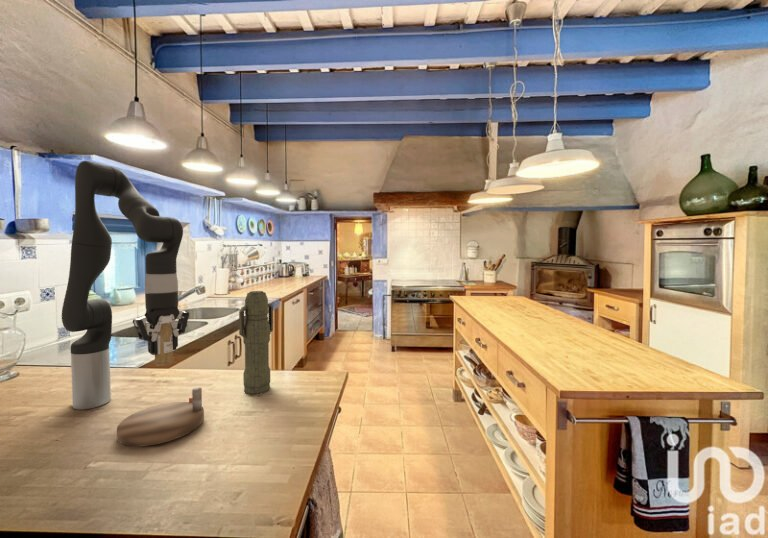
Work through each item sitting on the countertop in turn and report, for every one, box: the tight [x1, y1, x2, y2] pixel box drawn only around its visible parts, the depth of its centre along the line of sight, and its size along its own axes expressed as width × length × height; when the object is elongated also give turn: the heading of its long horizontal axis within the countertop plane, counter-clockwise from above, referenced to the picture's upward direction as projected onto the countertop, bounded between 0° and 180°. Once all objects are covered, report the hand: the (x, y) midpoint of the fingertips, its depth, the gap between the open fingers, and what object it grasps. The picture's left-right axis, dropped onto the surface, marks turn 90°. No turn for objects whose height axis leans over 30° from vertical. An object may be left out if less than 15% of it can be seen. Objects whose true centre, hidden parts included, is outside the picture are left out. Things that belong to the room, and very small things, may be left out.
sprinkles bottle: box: [153, 316, 175, 367], centre depth 93 cm, size 5×5×14 cm
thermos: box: [238, 290, 274, 396], centre depth 119 cm, size 9×12×35 cm
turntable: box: [116, 386, 205, 447], centre depth 93 cm, size 20×20×8 cm
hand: (163, 351), depth 93 cm, fingers closed on sprinkles bottle, 4 cm apart
